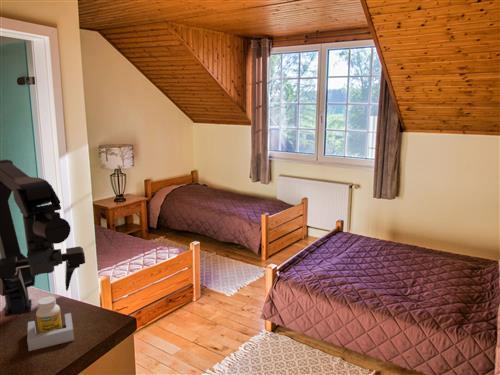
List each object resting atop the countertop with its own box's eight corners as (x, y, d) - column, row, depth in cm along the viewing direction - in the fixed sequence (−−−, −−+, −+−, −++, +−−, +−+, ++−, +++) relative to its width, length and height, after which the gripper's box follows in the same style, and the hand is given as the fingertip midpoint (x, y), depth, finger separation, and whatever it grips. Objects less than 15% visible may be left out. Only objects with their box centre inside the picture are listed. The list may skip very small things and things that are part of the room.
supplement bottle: (60, 326, 109) (56, 292, 107) (64, 336, 105) (60, 301, 102) (38, 333, 106) (33, 298, 104) (41, 343, 102) (36, 307, 100)
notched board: (29, 332, 106) (28, 322, 106) (72, 323, 111) (70, 312, 110) (28, 351, 99) (27, 339, 98) (74, 340, 103) (73, 329, 102)
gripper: (-11, 251, 88) (0, 318, 92) (84, 237, 96) (90, 299, 100) (-6, 235, 98) (3, 296, 101) (80, 224, 106) (86, 281, 109)
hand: (46, 293), depth 103 cm, fingers open, 9 cm apart
